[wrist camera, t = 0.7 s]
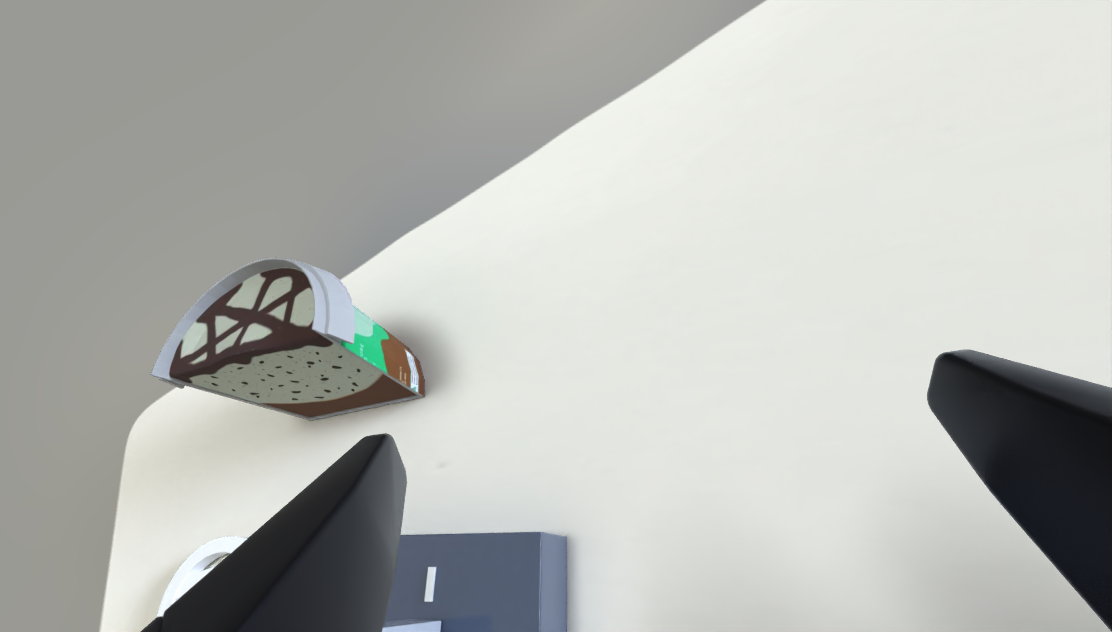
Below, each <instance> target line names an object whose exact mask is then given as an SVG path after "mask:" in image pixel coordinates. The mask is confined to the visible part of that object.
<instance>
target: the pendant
mask: <svg viewBox="0 0 1112 632" xmlns="http://www.w3.org/2000/svg"><path fill="white" fill-rule="evenodd" d="M247 539H248V538H244V537H235V536H227V537H220V538H216V539H214V540H212V541H210V542H208V543H205V544H204V545H203V546H201V547H200V548H199V549H197V550H196V551H195V552H193V553H192V554H191V555H190V556H189V557H188V558H187V560H186V561H185V562H184V563H183V564H182V565H181V566H180V568H179V569H178V571H177V572H176V574H175V575H174V577H173V578H172V580H171V581H170V583H169V585H168V588H167V590H166V592H165V594H164V596H163V599H162V602H161V605H160V608H159V612H158V616H157V617H159V616H163V614H164V611H165V610H166V609H167V608H169V607H170V606H171V605H172V604H173V603H174V602H175V601H177V600H178V599H179V598H180V597H181V596H182V595H183V594H185V593H186V592H187V591H188V590H189V589H190V588H192V587H193V586H194V585H195V584H196V583H197V582H198V581H200V580H201V579H202V578H203V577H204V576H205V575H206V574H208V573H209V572H210V571H211V570H212V569H213V568H214V567H213V568H209V569H206V570H204V569H205V568H206V566H207V565H208V564H210V563H211V562H212V561H214V560H215V559H216V558H218V557H220V556H222V555H225V554H227V553H232V552H233V551H234V550H235V549H236V548H237V547H239V546H240V545H241V544H242V543H243V542H244V541H245V540H247Z"/></svg>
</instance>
